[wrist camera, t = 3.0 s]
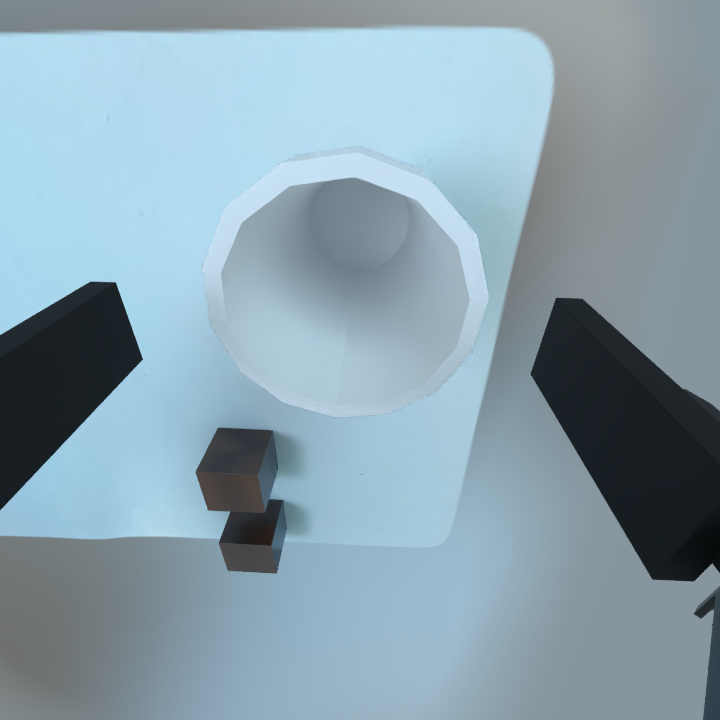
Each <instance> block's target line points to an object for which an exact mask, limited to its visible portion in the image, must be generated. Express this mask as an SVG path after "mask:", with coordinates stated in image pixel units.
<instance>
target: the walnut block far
mask: <svg viewBox="0 0 720 720" xmlns="http://www.w3.org/2000/svg"><path fill="white" fill-rule="evenodd" d="M286 529H287V527H286V520H285V513H284V506H283V500H269V501H268V505H267V508H266V512H265V513H250V512H230V515H229V517H228V520H227V523H226V525H225V528H224V531H223V533H222V536H221V539H220V541H219V545H220V548H221V551H222V554H223V557H224V560H225V563H226V566H227V569H228V571H243V572H259V573H277V570H278V564H279V561H280V556H281V552H282V547H283V543H284V538H285V534H286Z"/></svg>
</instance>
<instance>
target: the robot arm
mask: <svg viewBox="0 0 720 720" xmlns="http://www.w3.org/2000/svg"><path fill="white" fill-rule="evenodd" d="M142 360H143V358H142V355H141V353H140V350H139V347H138V344H137V341H136V338H135V336H134V333H133V330H132V327H131V324H130V321H129V319H128V316H127V313H126V310H125V307H124V304H123V302H122V299H121V296H120V293H119V290H118V287H117V285H116V283H115V282H89V283H87V284H86V285H84V286H82V287H81V288H79V289H77V290H76V291H74V292H72V293H71V294H69V295H67V296H66V297H64V298H62V299H60V300H59V301H57V302H55V303H54V304H52V305H50V306H49V307H47V308H45V309H44V310H42V311H40V312H38V313H37V314H35V315H33V316H32V317H30V318H28V319H27V320H25V321H23V322H22V323H20V324H18V325H17V326H15V327H13V328H11V329H10V330H8V331H6V332H5V333H3V334H1V335H0V510H1V509H2V508H3V507H4V506H5V505H6V504H7V503H8V502H9V500H10V499H11V498H12V497H13V496H14V495H15V494H16V493H17V492H18V491H19V490H20V489H21V488H22V487H23V486H24V485H25V484H26V482H27V481H28V480H29V479H30V478H31V477H32V476H33V475H34V474H35V473H36V472H37V471H38V470H39V469H40V468H41V467H42V466H43V464H44V463H45V462H46V461H47V460H48V459H49V458H50V457H51V456H52V455H53V454H54V453H55V452H56V451H57V450H58V449H59V448H60V446H61V445H62V444H63V443H64V442H65V441H66V440H67V439H68V438H69V437H70V436H71V435H72V434H73V433H74V432H75V431H76V430H77V428H78V427H79V426H80V425H81V424H82V423H83V422H84V421H85V420H86V419H87V418H88V417H89V416H90V415H91V414H92V413H93V412H94V410H95V409H96V408H97V407H98V406H99V405H100V404H101V403H102V402H103V401H104V400H105V399H106V398H107V397H108V396H109V395H110V394H111V392H112V391H113V390H114V389H115V388H116V387H117V386H118V385H119V384H120V383H121V382H122V381H123V380H124V379H125V378H126V377H127V376H128V374H129V373H130V372H131V371H132V370H133V369H134V368H135V367H136V366H137V365H138V364H139V363H140V362H141V361H142ZM531 376H532V377H533V379H534V380H535V382H536V384H537V386H538V387H539V389H540V391H541V392H542V394H543V396H544V397H545V399H546V401H547V403H548V404H549V406H550V408H551V409H552V410H553V413H554V414H555V416H556V418H557V419H558V421H559V423H560V424H561V426H562V428H563V430H564V431H565V433H566V434H567V436H568V438H569V440H570V441H571V443H572V445H573V446H574V448H575V450H576V451H577V453H578V455H579V456H580V458H581V460H582V462H583V463H584V465H585V467H586V468H587V470H588V471H589V473H590V475H591V477H592V478H593V480H594V482H595V483H596V485H597V487H598V488H599V490H600V492H601V494H602V495H603V497H604V498H605V500H606V502H607V504H608V505H609V507H610V509H611V510H612V512H613V514H614V515H615V517H616V518H617V520H618V522H619V524H620V526H621V527H622V529H623V530H624V532H625V534H626V536H627V537H628V539H629V541H630V542H631V544H632V546H633V547H634V549H635V551H636V552H637V554H638V556H639V557H640V559H641V561H642V563H643V564H644V566H645V568H646V569H647V571H648V573H649V574H650V576H651V578H652V579H654V580H675V581H695V580H696V579H697V578H698V577H699V576H700V575H701V574H702V573H703V572H704V570H706V569H707V568H708V567H709V566H710V565H711V564H712V563H713V565H714V566H715V567H716V569H717V570H718V571H719V573H720V411H719V410H717V409H716V408H715V407H714V406H713V405H712V404H710V403H709V402H707V401H705V400H703V399H702V398H700V397H698V396H696V395H695V394H693V393H691V392H689V391H688V390H686V389H682V388H681V387H680V386H679V385H678V384H676V383H675V382H674V381H673V380H672V379H671V378H670V377H669V376H668V375H666V374H665V373H664V372H663V371H662V370H661V369H660V368H659V367H657V366H656V365H655V364H654V363H653V362H652V361H651V360H650V359H649V358H648V357H646V356H645V355H644V354H643V353H642V352H641V351H640V350H639V349H638V348H636V347H635V346H634V345H633V344H632V343H631V342H630V341H629V340H628V339H626V338H625V337H624V336H623V335H622V334H621V333H620V332H619V331H618V330H616V329H615V328H614V327H613V326H612V325H611V324H610V323H609V322H607V321H606V320H605V319H604V318H603V317H602V316H601V315H599V314H598V313H597V312H596V311H595V310H594V309H593V308H592V307H591V306H590V305H589V304H587V303H586V302H585V301H584V300H583V299H572V298H556V300H555V303H554V306H553V309H552V312H551V315H550V318H549V321H548V324H547V327H546V329H545V333H544V336H543V338H542V342H541V344H540V347H539V351H538V354H537V356H536V359H535V363H534V366H533V369H532V371H531ZM711 610H714V617H713V624H712V626H713V627H712V637H711V647H710V657H709V667H708V677H707V687H706V697H705V706H704V717H703V720H720V587H718V588H717V589H716V590H715V591H714V592H713V593H712V594H711V595H710V596H709V597H708V598H707V599H705V600H704V601H703V602H702V603H701V604H700V605H699V606H698V607H697V609H696V611H695V613H694V614H695V615H696V616H698V617H699V618H702V617H704V616H705V615H706V614H707V613H708V612H709V611H711Z"/></svg>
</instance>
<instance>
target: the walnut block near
mask: <svg viewBox="0 0 720 720" xmlns="http://www.w3.org/2000/svg"><path fill="white" fill-rule="evenodd" d="M277 470H278V464H277V457H276V451H275V444H274V437H273V431H269V430H248V429H227V428H218V429H217V431H216V433H215V435H214V437H213V439H212V441H211V443H210V445H209V447H208V449H207V451H206V453H205V455H204V456H203V458H202V460H201V462H200V464H199V466H198V468H197V470H196V475H197V478H198V481H199V484H200V487H201V490H202V493H203V496H204V499H205V502H206V505H207V508H208V510H212V511H231V512H250V513H265V512H266V508H267V505H268V501H269V498H270V494H271V491H272V487H273V484H274V480H275V477H276V473H277Z"/></svg>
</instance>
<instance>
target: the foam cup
mask: <svg viewBox="0 0 720 720" xmlns="http://www.w3.org/2000/svg"><path fill="white" fill-rule="evenodd" d="M202 271H203V278H204V285H205V293H206V300H207V307H208V314H209V321H210V326H211V327H212V329H213V331H214V332H215V334H216V335H217V337H218V338H219V340H220V341H221V343H222V344H223V346H224V347H225V349H226V351H227V352H228V354H229V355H230V357H231V358H232V360H233V361H234V363H235V364H236V366H237V367H238V369H239V371H240V372H241V373H242V374H244V375H245V376H247V377H248V378H250V379H251V380H252V381H254V382H255V383H257V384H258V385H259V386H261V387H262V388H264V389H265V390H266V391H268V392H269V393H271V394H272V395H274V396H275V397H276V398H278V399H279V400H281V401H282V402H283V403H285V404H289V405H292V406H296V407H299V408H303V409H307V410H310V411H314V412H317V413H321V414H325V415H328V416H332V417H351V416H366V415H381V414H389V413H391V412H393V411H395V410H398V409H400V408H402V407H404V406H407V405H409V404H411V403H413V402H415V401H418V400H420V399H422V398H424V397H427V396H429V395H431V394H433V393H435V392H436V391H437V390H438V389H439V388H440V387H441V386H442V385H443V384H444V383H445V382H446V381H447V380H448V378H449V377H450V376H451V375H452V374H453V373H454V372H455V371H456V370H457V369H458V368H459V367H460V366H461V365H462V364H463V362H464V361H465V360H466V359H467V358H468V357H469V356H470V355H471V354H472V352H473V349H474V346H475V342H476V339H477V336H478V333H479V330H480V326H481V323H482V320H483V317H484V314H485V310H486V307H487V304H488V301H489V294H488V289H487V284H486V279H485V274H484V269H483V264H482V259H481V253H480V248H479V243H478V238H477V235H476V234H475V232H474V231H473V230H472V228H471V227H470V226H469V225H468V223H467V222H466V221H465V220H464V218H463V217H462V216H461V215H460V213H459V212H458V211H457V210H456V209H455V208H454V206H453V205H452V204H451V203H450V202H449V200H448V199H447V198H446V197H445V196H444V195H443V193H442V192H441V191H440V190H439V189H438V187H437V186H436V185H435V184H434V183H433V181H432V180H431V179H430V178H429V177H428V176H427V174H426V173H425V172H424V171H423V170H422V169H420V168H417V167H415V166H412V165H410V164H407V163H405V162H402V161H399V160H397V159H394V158H392V157H389V156H386V155H384V154H381V153H379V152H376V151H373V150H371V149H368V148H366V147H363V146H355V147H348V148H341V149H334V150H327V151H320V152H313V153H306V154H299V155H295V156H293V157H291V158H289V159H287V160H285V161H283V162H281V163H280V164H278V165H277V166H276V167H275V168H273V169H272V170H271V171H270V172H268V173H267V174H266V175H265V176H263V177H262V178H261V179H260V180H258V181H257V182H256V183H255V184H253V185H252V186H251V187H249V188H248V189H247V190H246V191H244V192H243V193H242V194H241V195H239V196H238V197H237V198H236V199H234V200H233V201H232V202H231V203H229V204H228V205H227V206H225V207H224V210H223V213H222V215H221V218H220V221H219V223H218V226H217V228H216V231H215V234H214V236H213V239H212V242H211V244H210V247H209V250H208V252H207V255H206V257H205V260H204V263H203V265H202Z"/></svg>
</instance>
